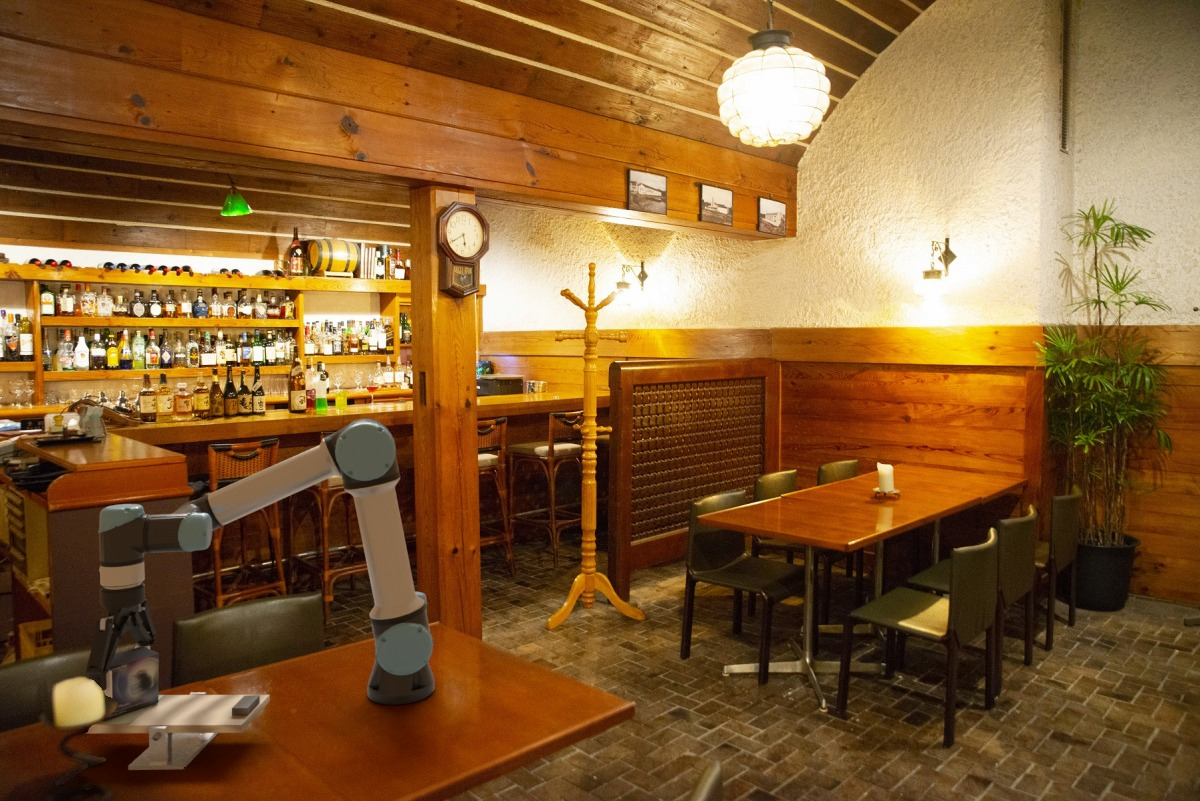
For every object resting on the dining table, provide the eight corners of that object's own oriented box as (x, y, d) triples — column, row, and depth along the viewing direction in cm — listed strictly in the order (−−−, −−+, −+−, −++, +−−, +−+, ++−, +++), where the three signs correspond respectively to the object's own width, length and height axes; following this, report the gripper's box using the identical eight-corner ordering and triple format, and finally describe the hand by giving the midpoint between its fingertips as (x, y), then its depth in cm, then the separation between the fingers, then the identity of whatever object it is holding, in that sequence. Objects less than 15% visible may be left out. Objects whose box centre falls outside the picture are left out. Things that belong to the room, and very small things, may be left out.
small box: (104, 722, 150) (104, 668, 149) (87, 714, 153) (86, 660, 153) (160, 703, 158) (160, 651, 158) (143, 695, 162) (142, 645, 162)
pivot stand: (224, 726, 166) (224, 690, 165) (183, 769, 148) (182, 729, 147) (176, 726, 165) (175, 691, 165) (128, 770, 147) (127, 730, 147)
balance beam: (269, 701, 164) (269, 687, 164) (241, 732, 150) (241, 717, 150) (121, 702, 163) (121, 687, 163) (79, 733, 149) (79, 717, 149)
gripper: (137, 568, 167) (139, 667, 168) (62, 603, 142) (64, 719, 143) (173, 568, 168) (175, 667, 168) (104, 602, 143) (106, 718, 143)
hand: (124, 691), depth 156 cm, fingers open, 13 cm apart
